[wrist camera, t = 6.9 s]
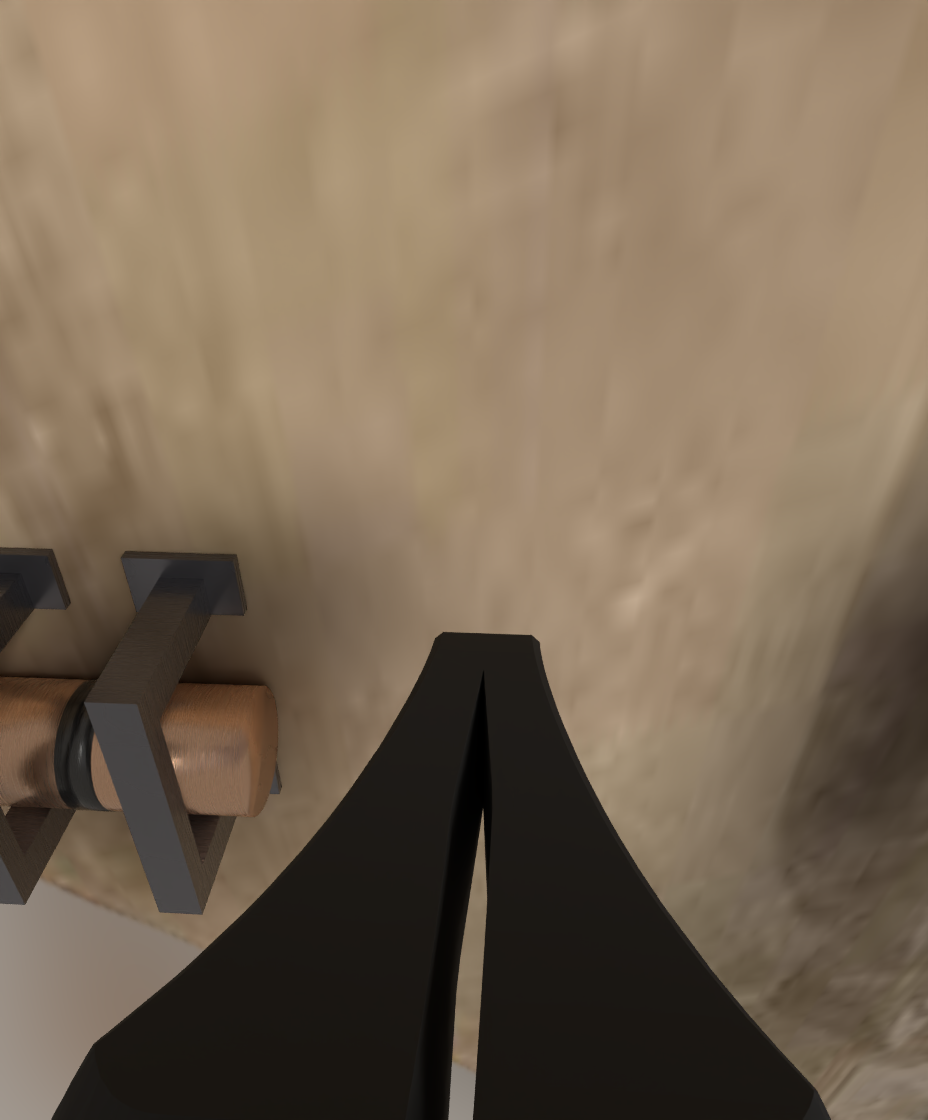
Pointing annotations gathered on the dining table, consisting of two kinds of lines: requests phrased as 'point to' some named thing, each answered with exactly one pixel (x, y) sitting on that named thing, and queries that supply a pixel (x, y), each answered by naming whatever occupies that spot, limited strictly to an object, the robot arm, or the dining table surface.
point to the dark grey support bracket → (137, 706)
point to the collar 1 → (3, 605)
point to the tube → (189, 729)
